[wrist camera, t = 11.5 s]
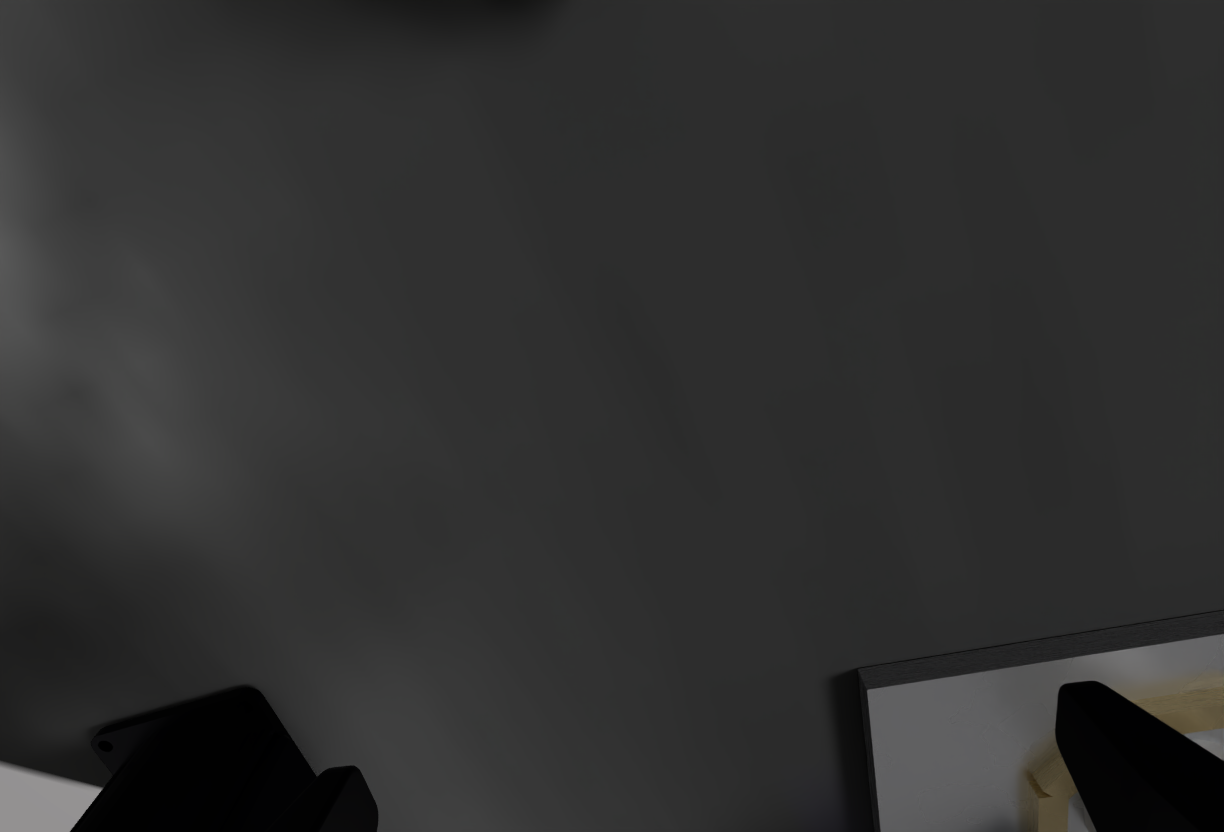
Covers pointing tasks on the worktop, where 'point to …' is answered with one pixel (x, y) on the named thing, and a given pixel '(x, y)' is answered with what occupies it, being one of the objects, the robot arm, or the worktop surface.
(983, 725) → the shaft mount
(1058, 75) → the worktop surface
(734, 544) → the worktop surface
